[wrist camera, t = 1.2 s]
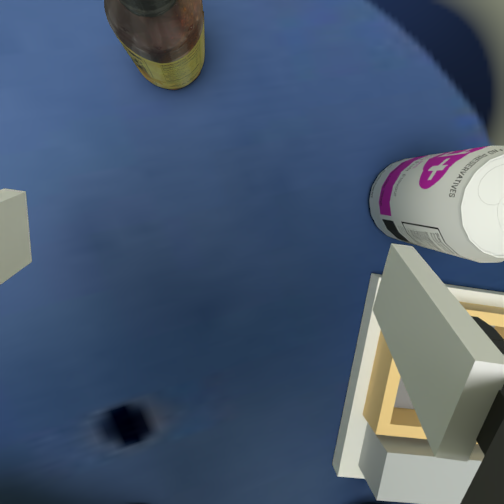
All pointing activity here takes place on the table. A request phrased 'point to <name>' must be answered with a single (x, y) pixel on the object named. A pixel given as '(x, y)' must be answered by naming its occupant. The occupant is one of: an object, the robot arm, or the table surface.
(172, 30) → the sauce bottle
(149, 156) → the table surface
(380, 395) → the tan-rimmed shallow tray
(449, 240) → the supplement can
